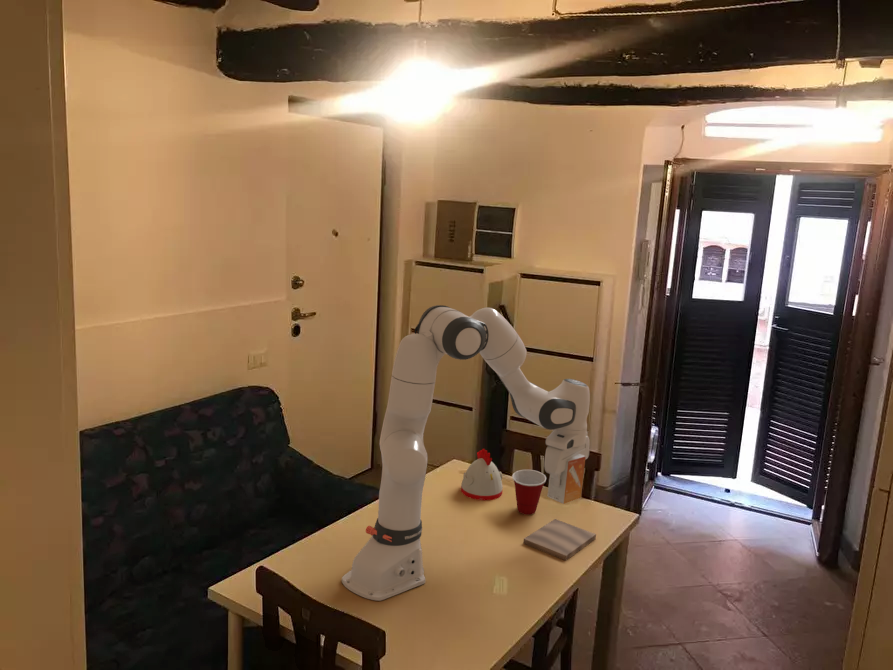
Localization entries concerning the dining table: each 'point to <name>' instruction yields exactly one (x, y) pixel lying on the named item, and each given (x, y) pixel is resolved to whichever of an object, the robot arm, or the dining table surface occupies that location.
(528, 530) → the dining table surface
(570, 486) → the small box
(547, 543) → the walnut board
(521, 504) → the plastic cup
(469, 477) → the kitchen timer
